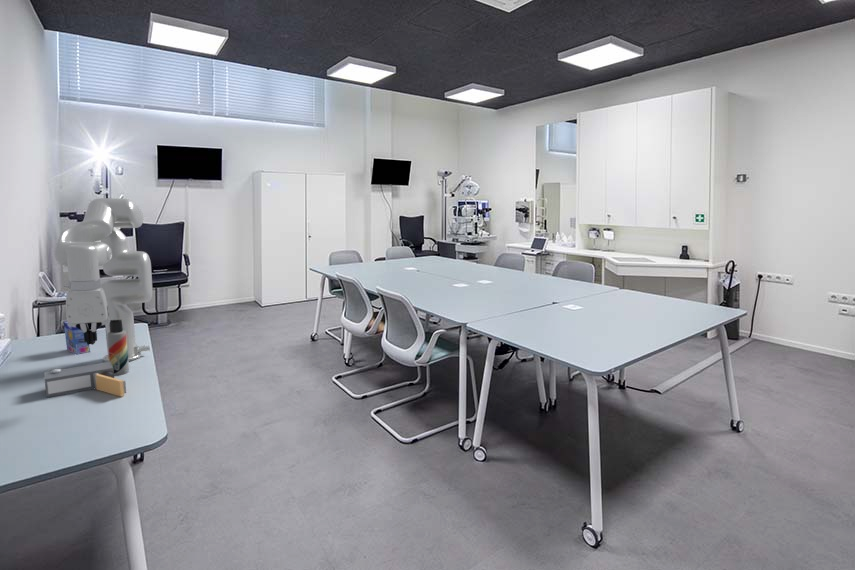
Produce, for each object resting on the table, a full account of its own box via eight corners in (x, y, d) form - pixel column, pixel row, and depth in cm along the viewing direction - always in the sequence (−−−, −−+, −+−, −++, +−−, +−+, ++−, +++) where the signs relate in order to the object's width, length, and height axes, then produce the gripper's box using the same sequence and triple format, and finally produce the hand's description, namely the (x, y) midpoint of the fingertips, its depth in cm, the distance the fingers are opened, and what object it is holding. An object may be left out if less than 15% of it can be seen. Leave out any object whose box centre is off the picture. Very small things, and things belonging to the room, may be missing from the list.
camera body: (111, 377, 165) (110, 359, 163) (115, 386, 157) (113, 366, 156) (46, 389, 153) (43, 369, 152) (46, 398, 146) (44, 378, 145)
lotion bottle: (109, 376, 166) (104, 321, 163) (111, 371, 171) (106, 318, 168) (128, 374, 169) (124, 320, 165) (130, 369, 174) (125, 316, 170)
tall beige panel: (93, 388, 154) (92, 373, 153) (100, 386, 156) (98, 372, 155) (120, 396, 148) (119, 381, 147) (126, 394, 150) (125, 379, 149)
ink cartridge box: (65, 350, 194) (62, 316, 191) (81, 347, 198) (78, 314, 196) (74, 355, 188) (71, 320, 186) (90, 351, 192) (87, 317, 190)
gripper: (51, 289, 135) (58, 349, 138) (112, 286, 141) (117, 344, 145) (58, 284, 142) (65, 342, 145) (116, 282, 148) (121, 337, 151)
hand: (91, 343), depth 145 cm, fingers closed
